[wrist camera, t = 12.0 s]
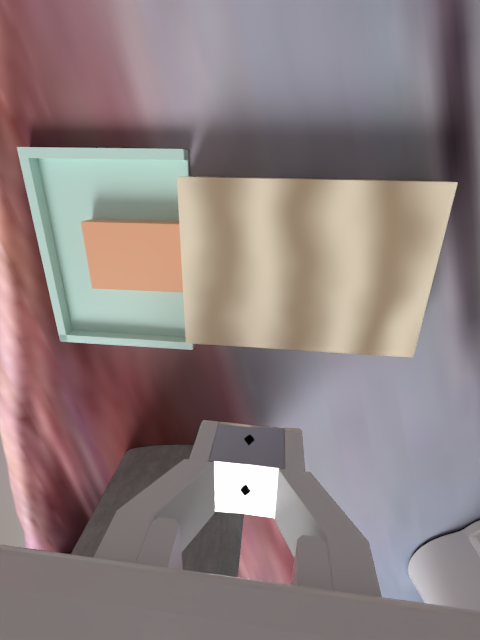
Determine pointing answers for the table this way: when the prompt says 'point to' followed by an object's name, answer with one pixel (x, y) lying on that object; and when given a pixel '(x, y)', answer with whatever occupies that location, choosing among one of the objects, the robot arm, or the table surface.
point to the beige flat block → (310, 261)
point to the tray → (103, 203)
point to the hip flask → (136, 475)
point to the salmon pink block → (133, 254)
